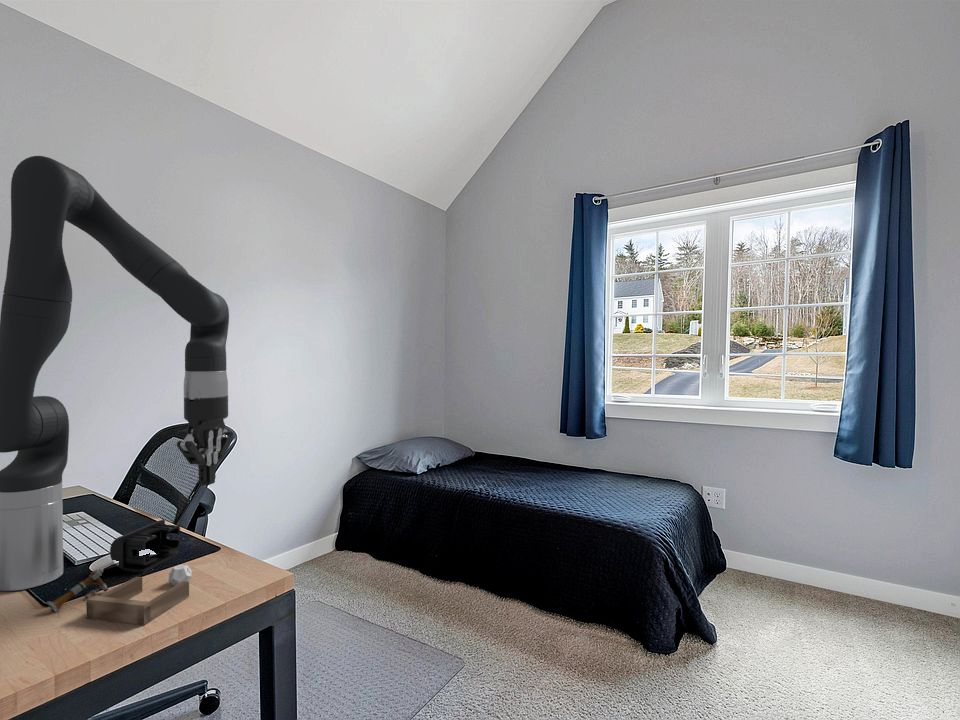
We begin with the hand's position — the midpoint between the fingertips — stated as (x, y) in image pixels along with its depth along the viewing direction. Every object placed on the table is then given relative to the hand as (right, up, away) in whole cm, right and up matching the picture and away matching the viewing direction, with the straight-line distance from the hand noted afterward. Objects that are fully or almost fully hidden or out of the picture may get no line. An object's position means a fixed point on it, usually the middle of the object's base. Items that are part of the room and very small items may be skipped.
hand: (207, 484), depth 98 cm
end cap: (-13, -16, +3) cm, 21 cm away
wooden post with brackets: (-14, -17, -13) cm, 26 cm away
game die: (-1, -17, -7) cm, 18 cm away
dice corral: (-3, -16, -14) cm, 22 cm away
